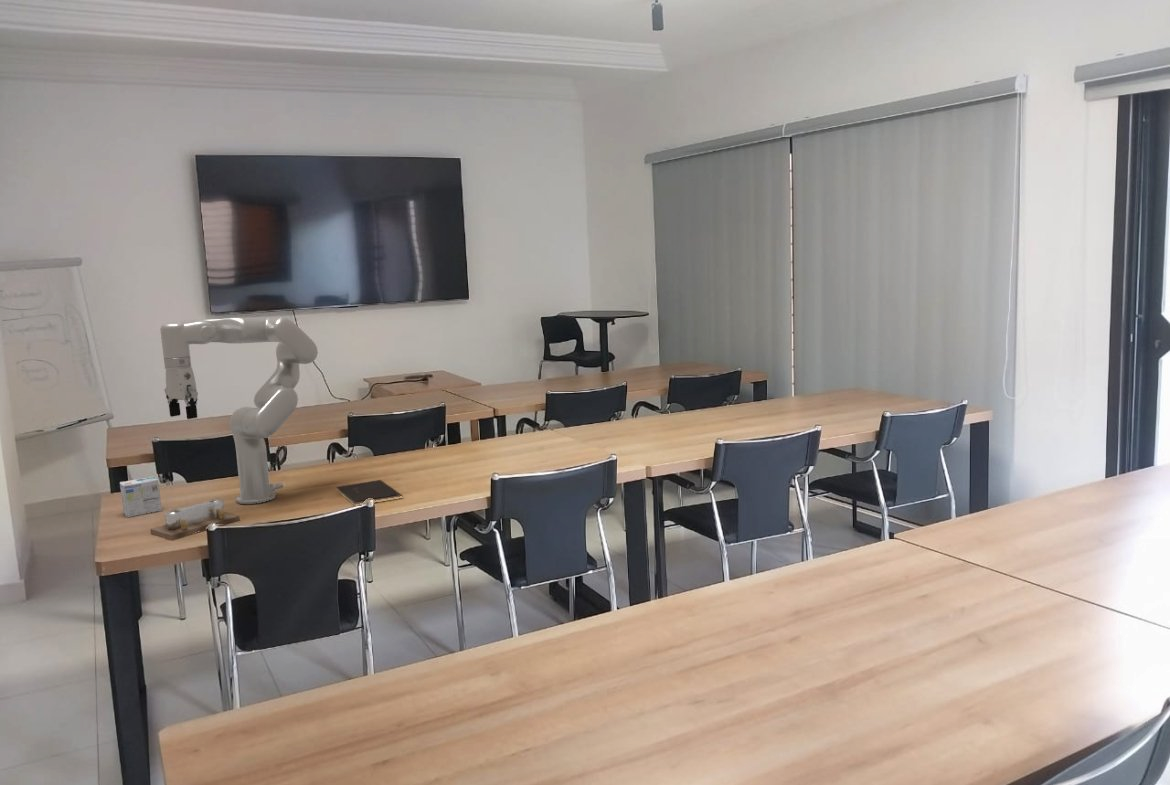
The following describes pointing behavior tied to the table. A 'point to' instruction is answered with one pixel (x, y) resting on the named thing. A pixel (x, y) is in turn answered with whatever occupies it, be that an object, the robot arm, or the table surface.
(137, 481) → the light bulb box
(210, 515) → the silver dumbbell
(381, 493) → the hardcover book
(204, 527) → the tool board
